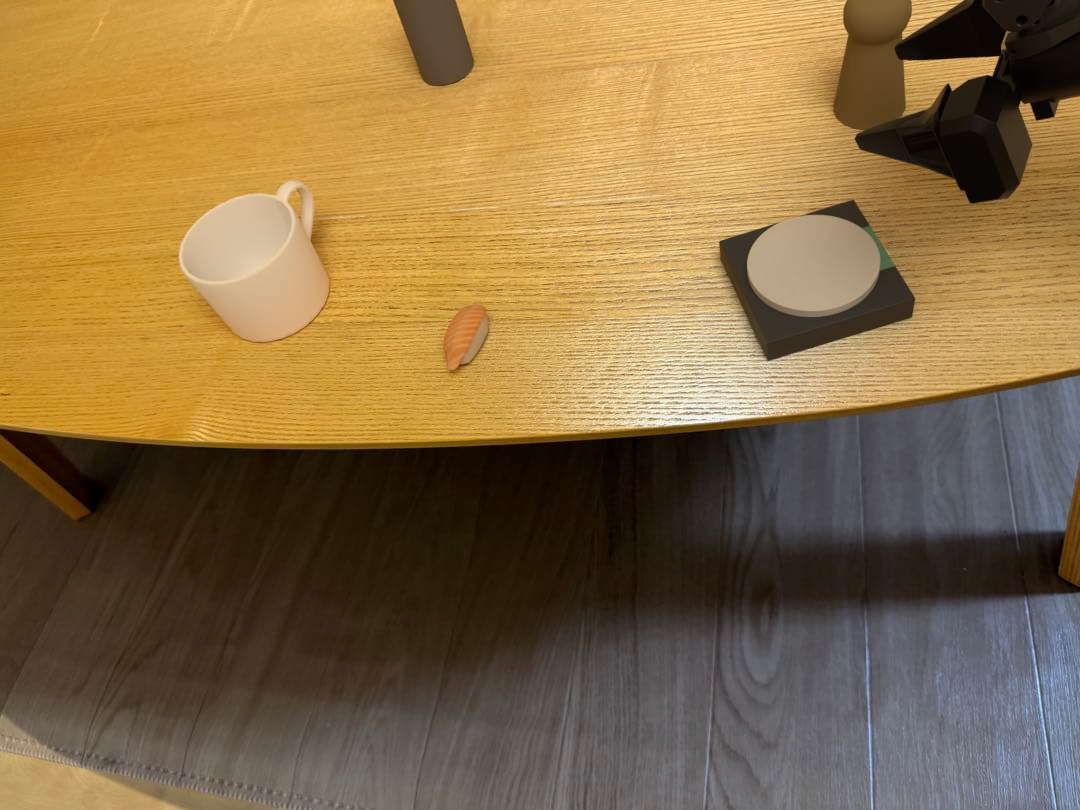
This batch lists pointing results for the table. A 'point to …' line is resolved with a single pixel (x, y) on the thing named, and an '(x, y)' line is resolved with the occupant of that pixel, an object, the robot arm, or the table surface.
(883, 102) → the brown chess pawn
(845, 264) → the scale
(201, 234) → the mug
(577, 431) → the table surface
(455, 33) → the bottle
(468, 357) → the sushi
